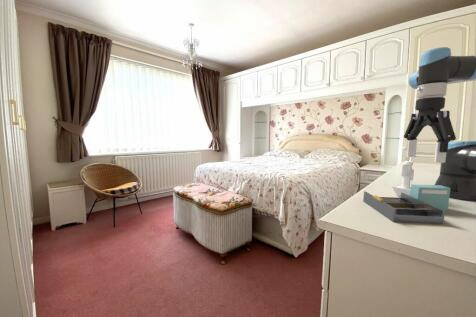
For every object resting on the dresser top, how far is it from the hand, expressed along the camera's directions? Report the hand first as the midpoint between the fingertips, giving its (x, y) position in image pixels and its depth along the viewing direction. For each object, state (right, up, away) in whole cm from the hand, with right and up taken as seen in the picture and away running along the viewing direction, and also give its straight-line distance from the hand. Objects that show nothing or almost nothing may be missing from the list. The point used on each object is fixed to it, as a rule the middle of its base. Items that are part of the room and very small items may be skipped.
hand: (424, 159), depth 76 cm
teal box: (+2, -17, +1) cm, 18 cm away
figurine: (+5, -16, +15) cm, 22 cm away
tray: (-11, -18, -2) cm, 21 cm away
